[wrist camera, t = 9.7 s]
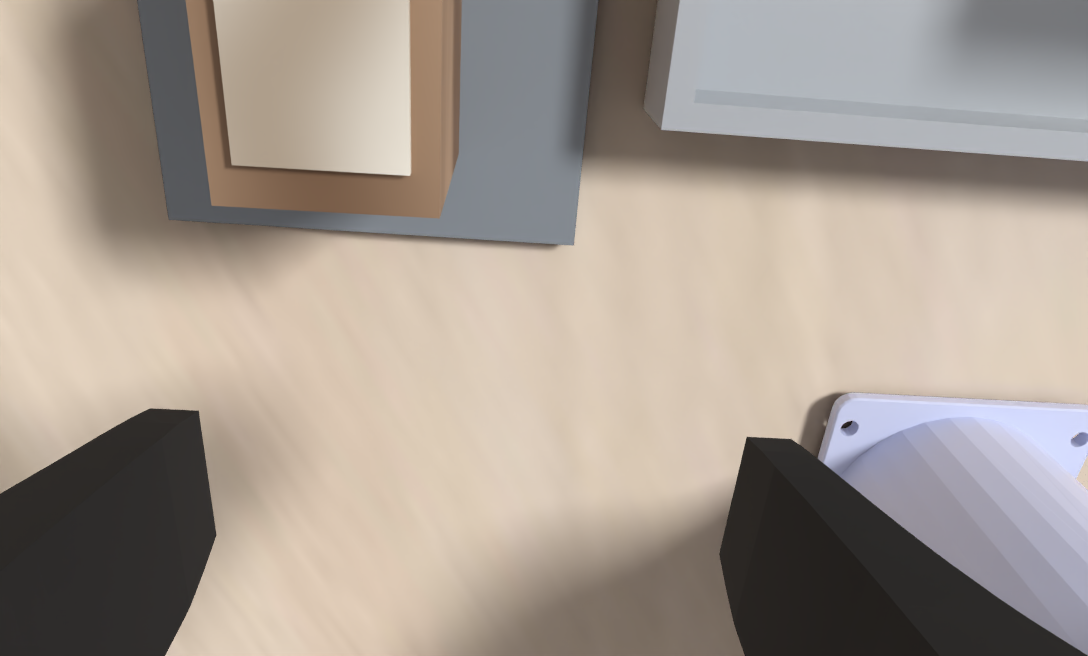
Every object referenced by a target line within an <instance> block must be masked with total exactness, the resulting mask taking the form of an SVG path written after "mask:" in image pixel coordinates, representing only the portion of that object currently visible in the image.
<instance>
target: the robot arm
mask: <svg viewBox="0 0 1088 656" xmlns="http://www.w3.org/2000/svg"><path fill="white" fill-rule="evenodd" d="M847 421H853V422H852V424H851V425H850V426H849V427H847V428H843V429H841V427H842V425H843V424H844V423H846V422H847ZM1078 433H1079V434H1078ZM1076 434H1078V435H1077V436H1076V437H1074V438H1073V436H1074V435H1076ZM1072 438H1073V439H1072ZM1087 455H1088V405H1082V404H1063V403H1044V402H1025V401H1005V400H986V399H967V398H948V397H929V396H909V395H890V394H871V393H847V394H844V395H842V396H840V397H839V398H838V399H837V400H836V401H835V403H834V405H833V406H832V410H831V413H830V417H829V420H828V424H827V427H826V431H825V434H824V438H823V441H822V445H821V448H820V451H819V455H818V458H816V457H815V456H814V455H812V454H811V453H810V452H808V451H807V450H806V449H804V448H803V447H802V446H800V445H799V444H797V443H796V442H795V441H793V440H792V439H778V438H757V437H747V438H746V443H745V447H744V451H743V455H742V460H741V464H740V468H739V473H738V477H737V481H736V485H735V490H734V494H733V498H732V502H731V507H730V511H729V515H728V519H727V524H726V528H725V532H724V536H723V541H722V545H721V549H720V554H719V555H720V560H721V565H722V570H723V575H724V580H725V585H726V590H727V595H728V599H729V603H730V608H731V612H732V617H733V621H734V625H735V628H736V631H737V634H738V637H739V640H740V643H741V646H742V648H743V651H744V654H745V656H1088V490H1087V489H1086V488H1085V487H1084V486H1083V485H1082V484H1081V483H1080V482H1079V481H1077V480H1076V478H1077V476H1078V474H1079V472H1080V469H1081V467H1082V465H1083V463H1084V461H1085V459H1086V457H1087ZM215 537H216V530H215V523H214V516H213V509H212V502H211V495H210V488H209V481H208V474H207V467H206V460H205V453H204V446H203V439H202V432H201V425H200V418H199V411H190V410H169V409H148V410H146V411H144V412H142V413H140V414H138V415H136V416H134V417H132V418H130V419H128V420H127V421H125V422H123V423H121V424H119V425H118V426H116V427H114V428H112V429H111V430H109V431H107V432H105V433H104V434H102V435H100V436H98V437H97V438H95V439H93V440H92V441H90V442H88V443H87V444H85V445H83V446H81V447H80V448H78V449H76V450H75V451H73V452H71V453H70V454H68V455H66V456H64V457H63V458H61V459H59V460H58V461H56V462H54V463H53V464H51V465H49V466H47V467H46V468H44V469H42V470H40V471H39V472H37V473H35V474H34V475H32V476H30V477H28V478H27V479H25V480H23V481H22V482H20V483H18V484H16V485H15V486H13V487H11V488H10V489H8V490H6V491H4V492H3V493H1V494H0V656H165V655H166V653H167V651H168V649H169V647H170V645H171V643H172V641H173V639H174V637H175V635H176V633H177V632H178V630H179V628H180V626H181V624H182V622H183V620H184V618H185V616H186V614H187V612H188V610H189V608H190V606H191V603H192V600H193V598H194V595H195V593H196V590H197V587H198V585H199V582H200V580H201V577H202V574H203V572H204V569H205V566H206V563H207V560H208V557H209V555H210V552H211V549H212V546H213V543H214V540H215Z"/></svg>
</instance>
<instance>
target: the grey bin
mask: <svg viewBox="0 0 1088 656" xmlns="http://www.w3.org/2000/svg"><path fill="white" fill-rule="evenodd" d="M643 109H644V110H645V112H646V113H647V114H648V115H649V116H650V117H651V119H652V120H653V121H654V122H655V123H656V124H657V126H658V127H659V128H660V129H661V130H671V131H684V132H698V133H711V134H725V135H738V136H752V137H765V138H779V139H792V140H806V141H819V142H833V143H846V144H860V145H873V146H887V147H900V148H914V149H927V150H941V151H954V152H968V153H981V154H995V155H1008V156H1022V157H1035V158H1049V159H1062V160H1076V161H1088V0H658V2H657V9H656V17H655V24H654V32H653V39H652V47H651V54H650V62H649V69H648V77H647V84H646V92H645V100H644V107H643Z"/></svg>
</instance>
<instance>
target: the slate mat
mask: <svg viewBox="0 0 1088 656" xmlns="http://www.w3.org/2000/svg"><path fill="white" fill-rule="evenodd" d="M137 3H138V10H139V17H140V23H141V30H142V37H143V44H144V51H145V58H146V65H147V72H148V79H149V86H150V93H151V100H152V107H153V114H154V121H155V127H156V134H157V141H158V148H159V155H160V162H161V169H162V176H163V183H164V190H165V197H166V204H167V211H168V218H169V220H182V221H198V222H213V223H229V224H245V225H261V226H276V227H292V228H308V229H324V230H339V231H355V232H371V233H387V234H402V235H418V236H434V237H450V238H465V239H481V240H497V241H513V242H528V243H544V244H560V245H574V237H575V227H576V217H577V207H578V197H579V187H580V177H581V167H582V158H583V148H584V138H585V128H586V118H587V108H588V98H589V88H590V79H591V69H592V59H593V49H594V39H595V29H596V19H597V9H598V0H462V18H461V67H460V116H459V155H458V159H457V162H456V165H455V169H454V172H453V175H452V179H451V182H450V185H449V189H448V192H447V195H446V199H445V202H444V206H443V209H442V212H441V216H440V219H438V218H421V217H403V216H385V215H368V214H350V213H332V212H315V211H297V210H279V209H262V208H244V207H226V206H212V205H211V197H210V189H209V181H208V173H207V165H206V158H205V150H204V142H203V134H202V126H201V118H200V110H199V102H198V94H197V86H196V79H195V71H194V63H193V55H192V47H191V39H190V31H189V23H188V15H187V8H186V0H137Z"/></svg>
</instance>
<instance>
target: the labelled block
mask: <svg viewBox="0 0 1088 656" xmlns="http://www.w3.org/2000/svg"><path fill="white" fill-rule="evenodd" d="M186 8H187V15H188V23H189V31H190V39H191V47H192V55H193V63H194V71H195V79H196V86H197V94H198V102H199V110H200V118H201V126H202V134H203V142H204V150H205V158H206V165H207V173H208V181H209V189H210V197H211V205H212V206H226V207H244V208H262V209H279V210H297V211H315V212H332V213H350V214H368V215H385V216H403V217H421V218H438V219H440V216H441V212H442V209H443V206H444V202H445V199H446V195H447V192H448V189H449V185H450V182H451V179H452V175H453V172H454V169H455V165H456V162H457V159H458V155H459V116H460V67H461V18H462V0H186Z"/></svg>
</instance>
